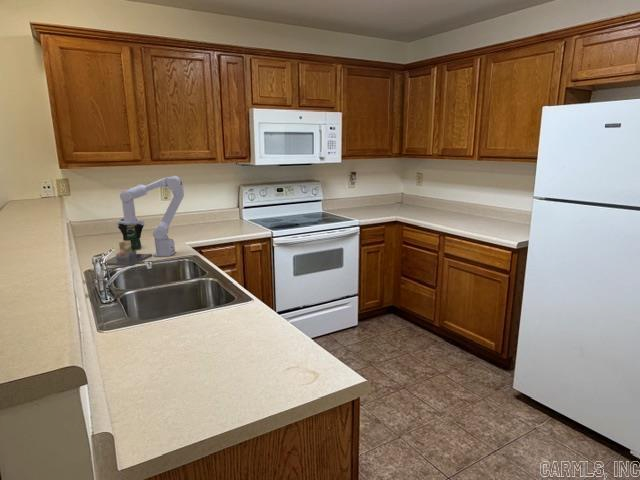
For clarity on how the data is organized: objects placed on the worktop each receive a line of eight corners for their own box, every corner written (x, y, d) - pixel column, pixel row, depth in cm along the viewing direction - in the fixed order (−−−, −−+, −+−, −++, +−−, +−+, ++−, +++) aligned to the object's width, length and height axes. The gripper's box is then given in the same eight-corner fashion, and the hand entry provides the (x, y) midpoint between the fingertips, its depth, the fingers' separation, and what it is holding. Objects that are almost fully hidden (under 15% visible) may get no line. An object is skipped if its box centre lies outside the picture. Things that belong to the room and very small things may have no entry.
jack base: (152, 255, 224) (151, 248, 223) (134, 265, 206) (132, 257, 205) (121, 256, 226) (120, 248, 225) (100, 265, 208) (99, 257, 207)
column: (132, 252, 217) (130, 240, 215) (127, 254, 213) (126, 242, 211) (124, 252, 217) (123, 240, 216) (120, 254, 213) (118, 242, 212)
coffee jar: (141, 246, 246) (137, 216, 242) (141, 249, 239) (137, 218, 234) (124, 248, 242) (119, 217, 238) (123, 251, 235) (118, 219, 231)
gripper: (112, 214, 215) (115, 239, 218) (138, 214, 214) (141, 239, 217) (119, 212, 222) (122, 236, 225) (145, 212, 220) (147, 236, 223)
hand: (132, 237), depth 221 cm, fingers open, 7 cm apart
